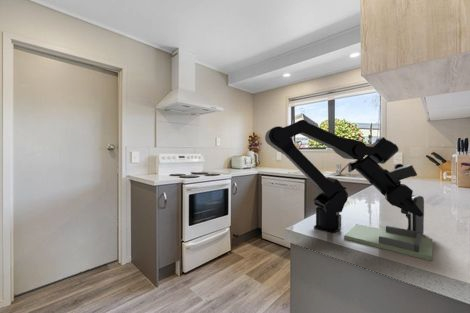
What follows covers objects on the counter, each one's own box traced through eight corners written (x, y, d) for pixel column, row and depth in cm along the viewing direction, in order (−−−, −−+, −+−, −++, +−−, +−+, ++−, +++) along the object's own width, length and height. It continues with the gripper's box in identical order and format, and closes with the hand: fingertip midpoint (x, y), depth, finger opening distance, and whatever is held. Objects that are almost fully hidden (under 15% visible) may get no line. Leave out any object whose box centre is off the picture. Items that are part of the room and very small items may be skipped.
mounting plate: (344, 238, 60) (344, 229, 60) (356, 227, 69) (356, 219, 69) (431, 261, 47) (431, 249, 47) (432, 243, 57) (432, 233, 57)
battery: (408, 229, 67) (408, 193, 67) (424, 233, 63) (424, 195, 63) (399, 234, 63) (399, 195, 63) (415, 238, 60) (415, 197, 60)
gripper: (402, 155, 56) (459, 201, 51) (390, 155, 73) (433, 189, 68) (367, 183, 60) (417, 228, 55) (363, 176, 77) (402, 211, 72)
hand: (418, 212), depth 62 cm, fingers closed on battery, 7 cm apart
